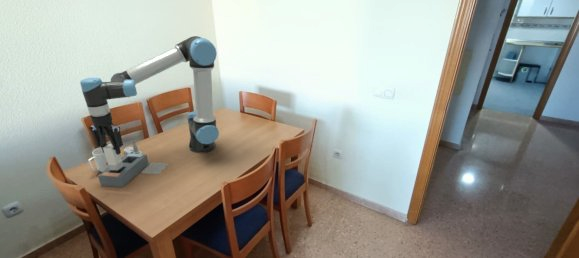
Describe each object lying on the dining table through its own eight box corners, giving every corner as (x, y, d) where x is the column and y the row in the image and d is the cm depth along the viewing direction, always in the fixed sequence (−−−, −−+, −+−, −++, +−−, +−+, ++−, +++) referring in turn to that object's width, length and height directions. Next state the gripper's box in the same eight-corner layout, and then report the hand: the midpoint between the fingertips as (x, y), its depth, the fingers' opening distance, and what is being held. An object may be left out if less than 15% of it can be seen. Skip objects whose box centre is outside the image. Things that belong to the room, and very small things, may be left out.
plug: (123, 166, 131) (117, 144, 126) (117, 170, 127) (111, 148, 122) (115, 165, 131) (109, 143, 126) (109, 169, 127) (102, 147, 122)
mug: (110, 162, 146) (104, 144, 141) (122, 166, 143) (116, 147, 139) (88, 174, 136) (81, 155, 131) (100, 178, 133) (93, 159, 128)
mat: (169, 164, 145) (168, 163, 145) (159, 175, 136) (158, 174, 136) (151, 163, 146) (151, 162, 146) (140, 173, 137) (140, 172, 137)
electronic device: (127, 134, 157) (140, 141, 148) (132, 149, 161) (145, 156, 152) (118, 138, 153) (130, 145, 144) (123, 153, 157) (135, 160, 148)
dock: (148, 164, 145) (146, 154, 142) (123, 188, 126) (119, 177, 123) (129, 162, 146) (127, 152, 143) (101, 186, 127) (97, 175, 125)
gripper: (124, 111, 120) (136, 156, 130) (89, 109, 121) (103, 154, 131) (112, 117, 113) (125, 165, 123) (75, 115, 115) (91, 162, 124)
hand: (114, 159), depth 127 cm, fingers closed on plug, 4 cm apart
